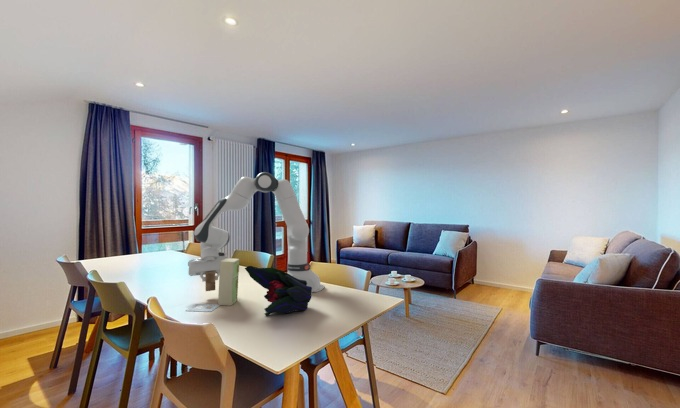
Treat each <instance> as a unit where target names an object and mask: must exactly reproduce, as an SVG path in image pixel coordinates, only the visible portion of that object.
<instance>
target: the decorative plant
mask: <svg viewBox="0 0 680 408" xmlns="http://www.w3.org/2000/svg"><path fill="white" fill-rule="evenodd" d="M244 269H245V271H246V272H247V274H248V275H249V276H250V278H251V279H253V281H255V282H256V283H257V284H259V285H260V286H261V287H263V288H264V289H265V290H267V291H266V294H264V295H263V297H264V299H265V300H267V302H269V303H270V304H269V305H267V307H264V311H265V313H263V314H264V315H265V316H269V315H272V314H274V313H275V314H278V315H283V314H284V315H285V314H289V313H293V312H297V311H300V312H305V311H307V310H308V305H309V303H310V301H311V299H312V293H313V292H312V287H310V286H306V285H307V282H306V281H305V280H299V279H297V278H295V277H293V276H291V275H290V274H288V272H287V271H283V270H281V269H278V268H274V267H256V266H253V265H248V266H246V267H244Z"/></svg>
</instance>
